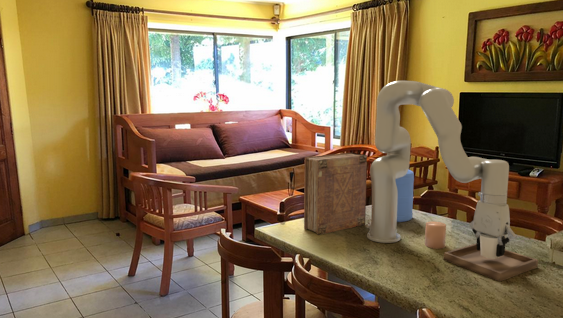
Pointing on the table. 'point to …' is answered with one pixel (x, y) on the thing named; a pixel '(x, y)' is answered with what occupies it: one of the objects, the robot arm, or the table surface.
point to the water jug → (405, 197)
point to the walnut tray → (491, 262)
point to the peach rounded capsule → (435, 235)
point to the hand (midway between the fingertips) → (490, 252)
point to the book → (334, 192)
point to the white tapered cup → (488, 245)
